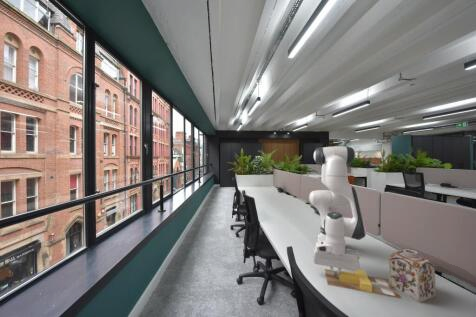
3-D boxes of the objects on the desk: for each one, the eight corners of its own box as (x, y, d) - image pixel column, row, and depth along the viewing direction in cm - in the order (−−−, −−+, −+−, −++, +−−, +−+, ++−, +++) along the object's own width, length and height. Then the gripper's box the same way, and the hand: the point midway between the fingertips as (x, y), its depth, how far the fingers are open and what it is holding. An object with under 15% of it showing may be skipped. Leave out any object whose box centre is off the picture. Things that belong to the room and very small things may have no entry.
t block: (337, 272, 99) (337, 266, 99) (364, 276, 95) (364, 270, 95) (340, 286, 87) (340, 279, 88) (372, 292, 83) (371, 285, 83)
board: (324, 270, 102) (324, 269, 102) (388, 281, 92) (388, 279, 92) (327, 286, 89) (327, 284, 89) (402, 301, 79) (402, 298, 79)
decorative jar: (436, 297, 82) (435, 254, 82) (420, 304, 78) (418, 259, 78) (404, 281, 93) (403, 243, 94) (388, 286, 89) (387, 247, 90)
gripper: (358, 247, 94) (358, 276, 93) (313, 241, 101) (313, 268, 100) (361, 253, 88) (362, 283, 87) (313, 246, 95) (313, 275, 94)
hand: (335, 275), depth 94 cm, fingers closed
